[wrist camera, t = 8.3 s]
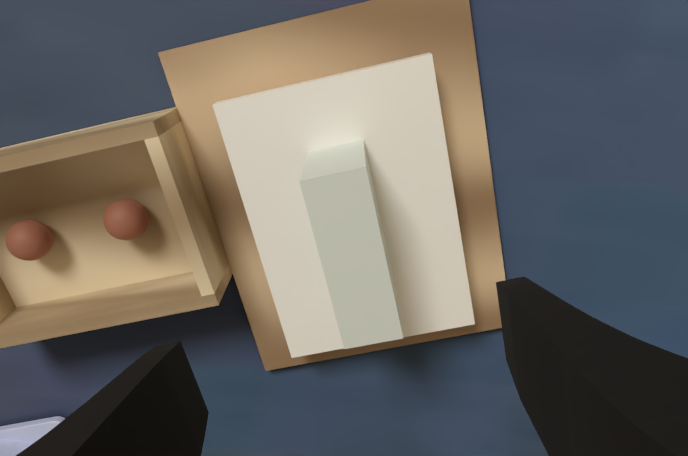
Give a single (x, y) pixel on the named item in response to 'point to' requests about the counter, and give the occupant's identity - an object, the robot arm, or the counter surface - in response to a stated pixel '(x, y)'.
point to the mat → (325, 60)
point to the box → (105, 230)
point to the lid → (352, 205)
